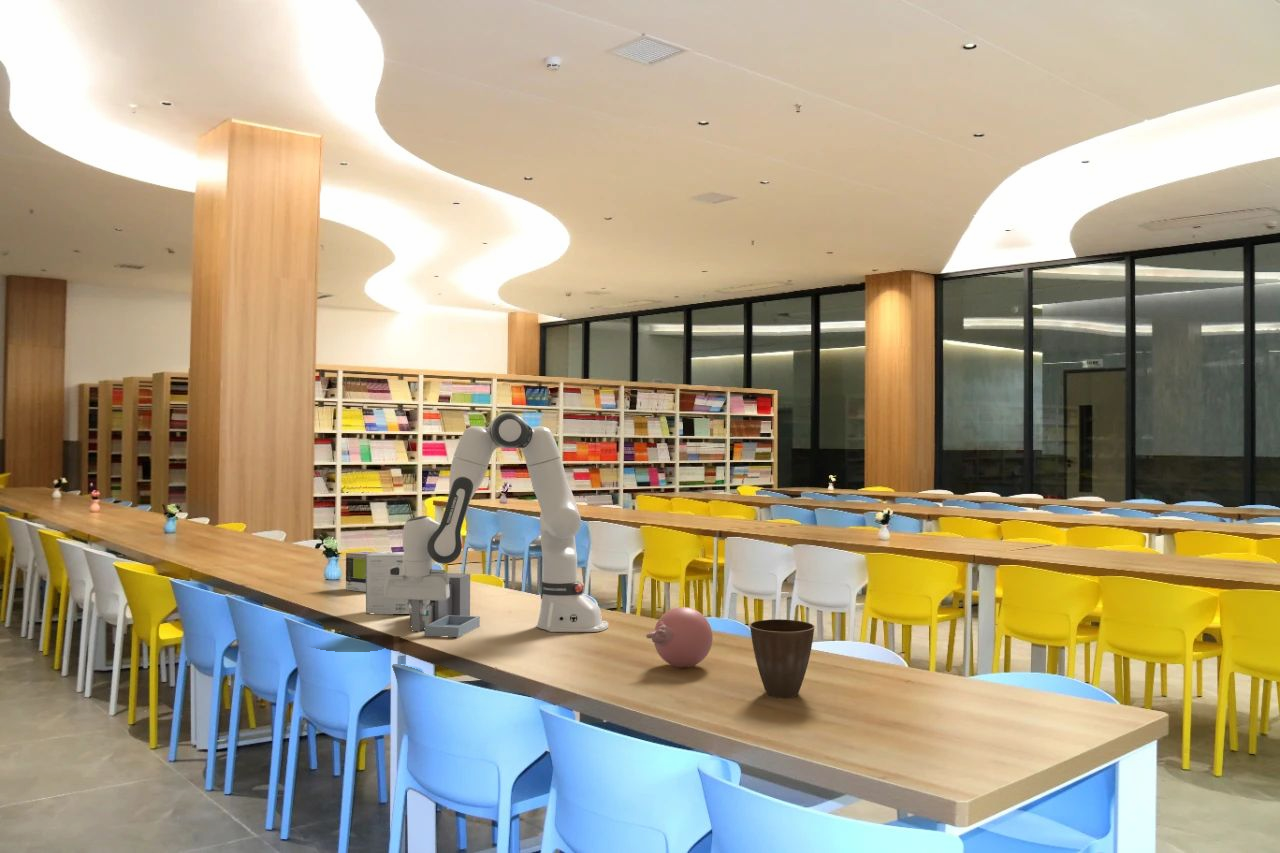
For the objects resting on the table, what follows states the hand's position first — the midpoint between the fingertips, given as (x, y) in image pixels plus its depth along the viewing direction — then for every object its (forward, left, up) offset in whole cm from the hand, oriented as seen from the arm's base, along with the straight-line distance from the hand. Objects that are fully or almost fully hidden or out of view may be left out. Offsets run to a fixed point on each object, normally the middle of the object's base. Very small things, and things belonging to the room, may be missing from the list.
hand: (416, 614), depth 304 cm
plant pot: (-113, +53, -5) cm, 125 cm away
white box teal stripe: (0, -6, -5) cm, 8 cm away
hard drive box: (+21, -28, -5) cm, 35 cm away
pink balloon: (-85, +32, -5) cm, 91 cm away
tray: (-11, -2, -5) cm, 12 cm away
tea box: (+51, -73, -5) cm, 89 cm away
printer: (0, -17, -5) cm, 17 cm away
